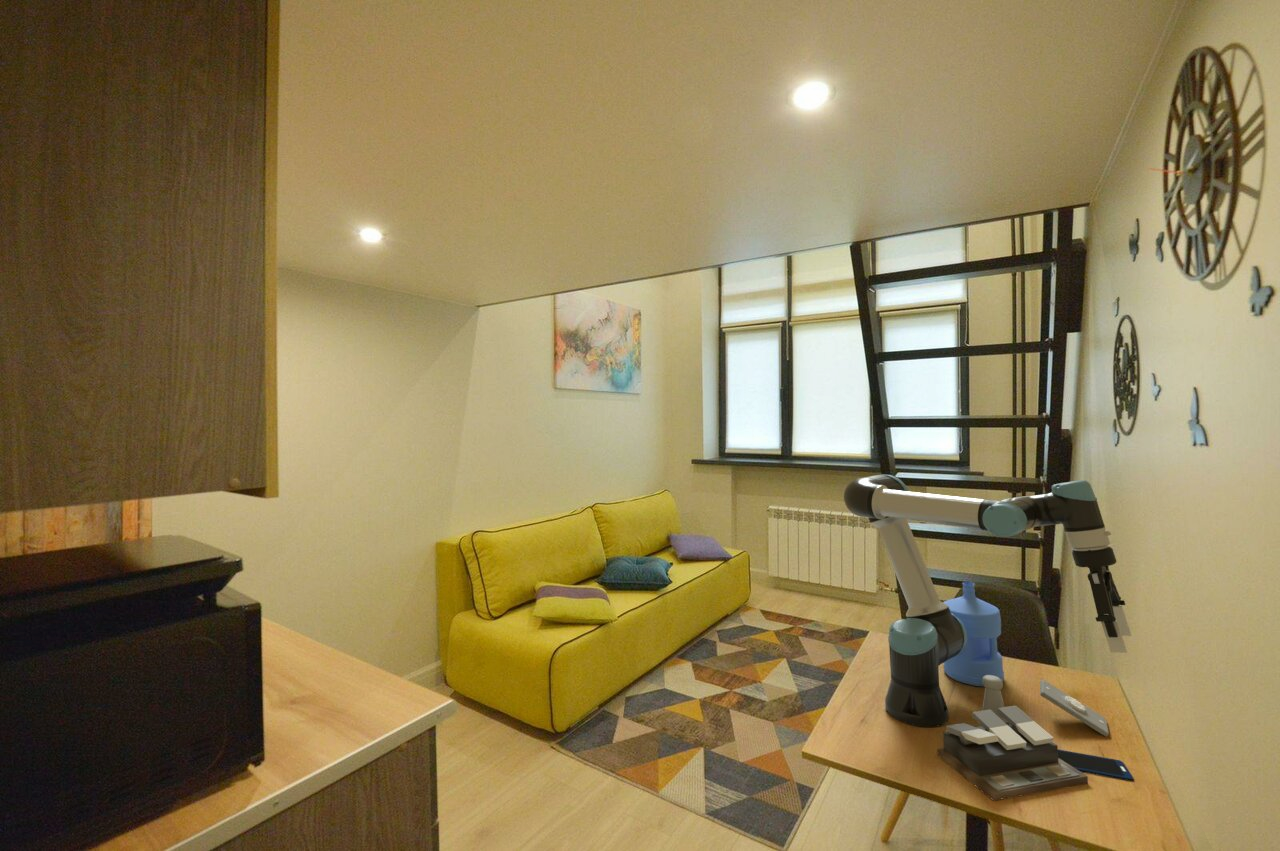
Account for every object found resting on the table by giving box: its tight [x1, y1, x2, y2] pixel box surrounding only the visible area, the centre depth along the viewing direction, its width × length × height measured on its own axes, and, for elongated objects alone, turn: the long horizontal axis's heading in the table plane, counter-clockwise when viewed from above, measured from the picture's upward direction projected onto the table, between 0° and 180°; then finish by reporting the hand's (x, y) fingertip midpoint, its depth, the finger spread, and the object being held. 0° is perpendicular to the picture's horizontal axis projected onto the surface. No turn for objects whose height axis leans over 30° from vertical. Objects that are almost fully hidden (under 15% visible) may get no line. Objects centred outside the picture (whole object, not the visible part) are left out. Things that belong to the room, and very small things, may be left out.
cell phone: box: [1058, 748, 1134, 782], centre depth 121 cm, size 7×14×1 cm, turn 64°
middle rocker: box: [971, 709, 1027, 750], centre depth 123 cm, size 10×5×3 cm, turn 11°
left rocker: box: [945, 722, 999, 745], centre depth 122 cm, size 10×5×3 cm, turn 9°
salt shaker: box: [981, 675, 1008, 722], centre depth 136 cm, size 6×6×13 cm
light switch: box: [1039, 679, 1110, 737], centre depth 138 cm, size 8×6×14 cm
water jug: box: [942, 581, 1005, 688], centre depth 165 cm, size 16×16×28 cm
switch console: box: [937, 722, 1089, 801], centre depth 121 cm, size 16×23×5 cm
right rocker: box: [998, 704, 1055, 746], centre depth 125 cm, size 10×5×3 cm, turn 11°
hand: (1121, 643), depth 121 cm, fingers open, 13 cm apart
